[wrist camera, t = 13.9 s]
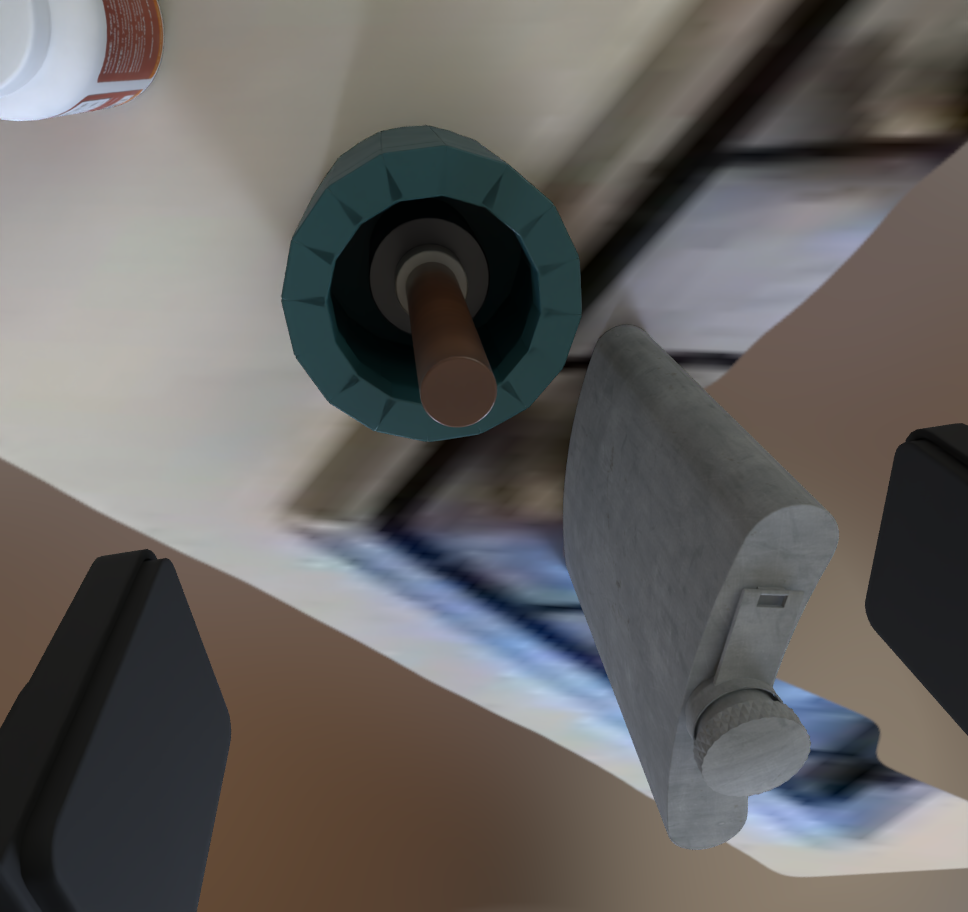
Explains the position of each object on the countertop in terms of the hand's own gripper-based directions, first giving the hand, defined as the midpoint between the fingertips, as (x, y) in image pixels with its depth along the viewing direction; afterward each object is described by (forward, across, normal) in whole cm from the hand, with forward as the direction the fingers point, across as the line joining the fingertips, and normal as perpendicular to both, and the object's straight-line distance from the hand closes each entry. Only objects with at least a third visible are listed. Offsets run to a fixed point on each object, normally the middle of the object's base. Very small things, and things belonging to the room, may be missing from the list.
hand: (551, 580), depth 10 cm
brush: (+26, 0, +2) cm, 27 cm away
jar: (+27, 0, +2) cm, 27 cm away
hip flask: (+27, -8, +15) cm, 32 cm away
